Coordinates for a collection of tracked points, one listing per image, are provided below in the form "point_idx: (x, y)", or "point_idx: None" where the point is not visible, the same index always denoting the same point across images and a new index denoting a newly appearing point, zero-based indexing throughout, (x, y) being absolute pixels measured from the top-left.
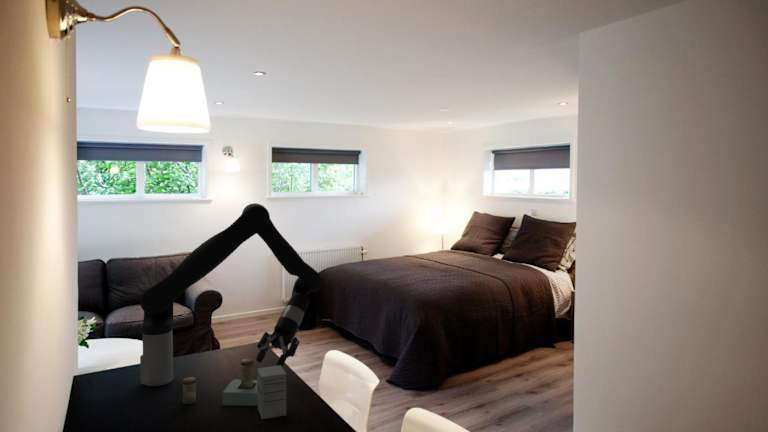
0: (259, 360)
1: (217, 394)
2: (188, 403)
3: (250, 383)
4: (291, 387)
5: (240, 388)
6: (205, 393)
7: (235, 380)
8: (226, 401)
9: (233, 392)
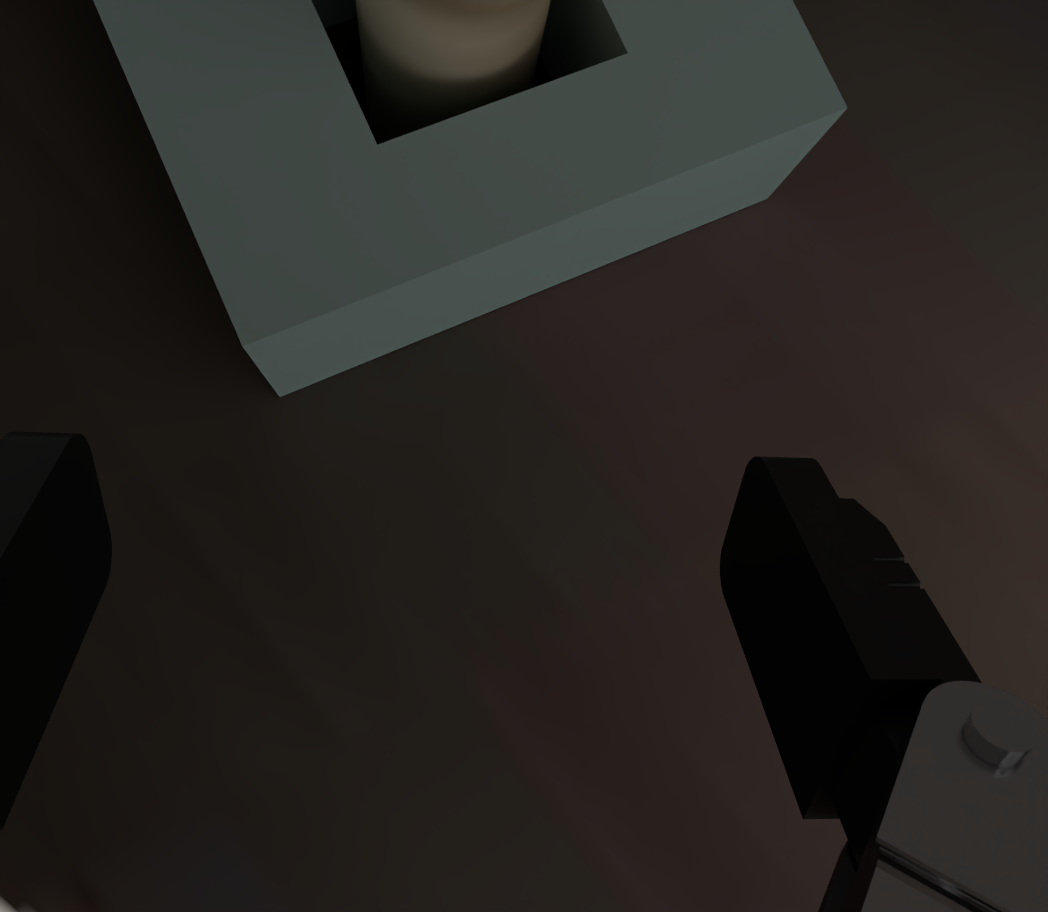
0: (748, 518)
1: (875, 50)
2: None
3: None
4: (68, 700)
5: (585, 38)
6: (1022, 17)
7: (784, 86)
8: None
9: None
